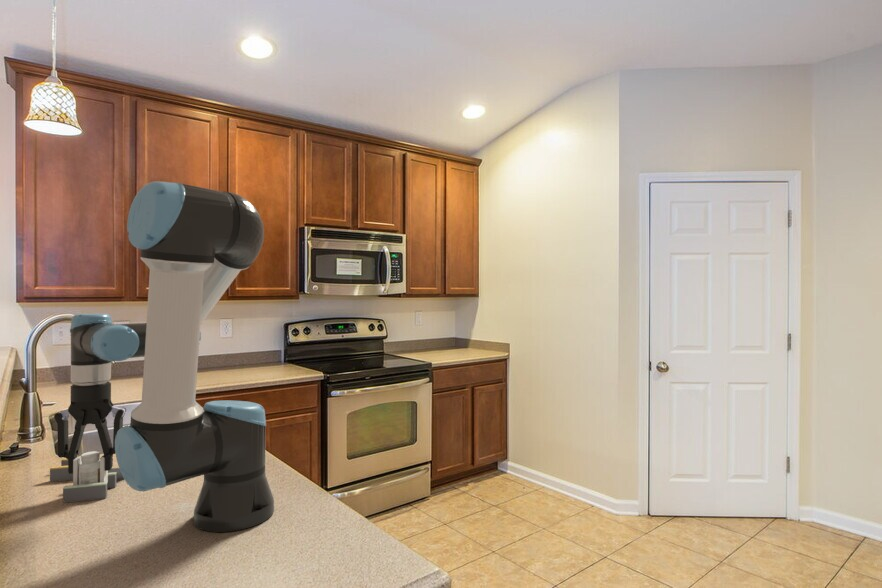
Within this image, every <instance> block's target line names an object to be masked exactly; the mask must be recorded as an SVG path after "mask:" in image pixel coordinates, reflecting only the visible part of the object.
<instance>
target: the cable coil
mask: <svg viewBox="0 0 882 588" xmlns="http://www.w3.org/2000/svg"><path fill="white" fill-rule="evenodd" d="M112 472H116V484H117V483H119V482H122V481H125V479H124V478H123V476H122V474H121V471H120V469H119V467H112V468H111V469H110V470H108V473H112Z"/></svg>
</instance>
